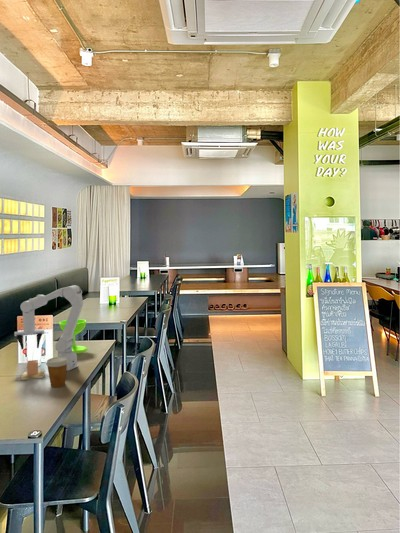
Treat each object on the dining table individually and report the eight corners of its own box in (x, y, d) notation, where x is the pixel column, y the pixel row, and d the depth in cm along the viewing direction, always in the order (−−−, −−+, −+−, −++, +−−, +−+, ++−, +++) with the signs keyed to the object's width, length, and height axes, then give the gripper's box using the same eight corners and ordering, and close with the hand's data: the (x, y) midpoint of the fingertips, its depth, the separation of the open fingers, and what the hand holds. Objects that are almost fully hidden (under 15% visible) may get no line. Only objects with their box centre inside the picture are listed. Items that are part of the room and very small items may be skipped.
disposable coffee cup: (72, 382, 191) (71, 357, 191) (59, 389, 182) (58, 363, 182) (56, 380, 195) (55, 356, 194) (42, 387, 186) (41, 361, 185)
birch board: (44, 373, 206) (44, 370, 206) (42, 377, 199) (42, 374, 199) (23, 375, 203) (23, 372, 203) (21, 379, 196) (20, 376, 196)
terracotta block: (38, 371, 204) (37, 359, 204) (37, 374, 200) (36, 362, 199) (28, 372, 203) (28, 360, 203) (27, 375, 199) (26, 363, 198)
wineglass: (76, 345, 260) (75, 318, 259) (92, 349, 250) (91, 320, 249) (54, 351, 247) (53, 322, 246) (71, 355, 238) (69, 325, 236)
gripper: (12, 325, 209) (14, 351, 210) (42, 323, 213) (44, 348, 214) (15, 323, 216) (16, 348, 216) (44, 321, 220) (45, 345, 220)
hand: (30, 348), depth 215 cm, fingers open, 7 cm apart
